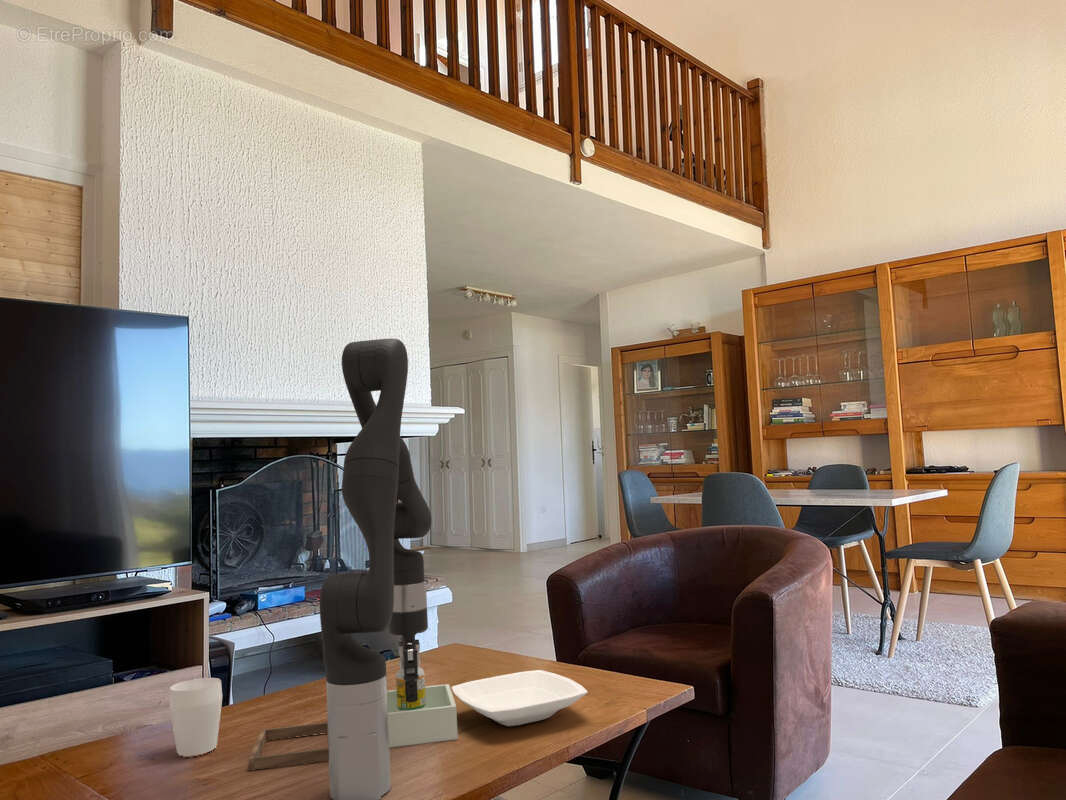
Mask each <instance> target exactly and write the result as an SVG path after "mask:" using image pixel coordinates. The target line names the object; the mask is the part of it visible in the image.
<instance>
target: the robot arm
mask: <svg viewBox="0 0 1066 800" xmlns="http://www.w3.org/2000/svg"><path fill="white" fill-rule="evenodd" d="M341 369H342V375H343V379H344V383H345V386H346V389H347V391H348V394H349V397H350V399H351V403H352V406H353V408H354V411H355V413H356V417H357V419H358V422H359V425H360V427H361V430H360V431H359V432H358V434H357V435H356V436H355V438H354V439H353V440H352V441H351V443H350V445H349V446H348V448H347V450H346V453H345V456H344V460H343V469H342V482H341V495H342V498H343V502H344V505H345V506H346V508H347V511H348V512H349V514H350V515H351V517H352V518H353V520H354V522H355V524H356V525H357V526H358V529H359V531H360V532H361V534H362V536H363V539H364V541H365V543H366V547H367V551H368V557H369V559H368V561H369V562H368V563H369V567H368V568H369V569H368V572H350V573H349V572H348V573H347V572H346V573H345V572H344V573H335V574H330V575H329V576H327V577H326V578H325V579H324V581H323V583H322V586H321V589H320V593H319V619H320V627H321V628H320V629H321V630H320V631H321V640H322V657H323V665H324V669H325V680H326V681H325V683H326V685H325V686H326V715H327V717H326V718H327V721H326V722H328V734H327V742H328V743H327V745H328V747H327V748H328V752H329V761H328V772H329V776H328V777H329V796H330V798H331V799H332V800H381V799H382V796H384V795H386V793H388V792H389V791H391V788H392V785H391V783H392V782H391V781H392V780H391V759H390V756H391V755H390V748H389V729H388V703H387V691H388V681H387V680H388V679H387V662H386V661H387V660H386V658H385V656H384V655H383V654H382V653H380V652H378V651H376V650H373V649H370V648H367V647H366V646H364V645H362V644H360V643H359V642H357V641H356V640H355V639H354V637H353V635H352V634H367V633H368V634H370V633H371V634H372V633H382V632H384V631H386V630H387V629H388V630H387V631H388V633H389V634H390V635H393V636H401V637H400V641H399V640H398V641H397V643H398V644H397V645H398V654H399V659H400V658H401V668H400V669H403V670H404V677H403V678H404V682H405V694H406V702H416V701H417V700H418V693H417V681H418V678H419V675H418V667H420V666H419V658H420V650H421V648H420V647H421V645H420V639H416V635H417V634H422V633H425V632H426V631H427V630H428V628H429V625H428V623H429V622H428V621H429V620H428V619H429V618H428V599H427V598H428V597H427V596H428V595H427V588H426V583H425V568H424V567H425V561H424V556H423V553H422V552H420V551H419V550H414V549H409V548H405V547H404V546H403V544H402V543H401V542H400V539H401V540H402V539H404V540H405V539H420V538H423V537H425V536H426V535H427V534H428V533H430V532H429V531H430V530H431V527H432V513H431V509H430V508H429V505H428V504H427V501H426V500H425V498H424V496H423V494H422V493H421V489H420V487H419V486H418V484H417V481H416V479H415V476H414V471H413V465H412V459H411V455H410V451H409V448H408V446H407V443H406V442H405V441H404V439H403V438H402V436H401V425H402V417H403V409H404V404H405V403H404V402H405V396H406V390H407V381H408V373H409V372H408V371H409V358H408V351H407V348H406V345H405V343H403V341H402V340H400V339H398V338H381V339H380V338H379V339H370V340H369V339H368V340H358V341H352V342H349V343H347V344H346V345H345V346H344V349H343V351H342V354H341ZM379 391H380V392H379ZM372 392H379V396H378V400H377V403H375V400H374V398H373V394H372ZM397 500H398V502H397ZM403 657H404V660H403ZM411 668H414V671H415V673H411V674H407V669H411Z"/></svg>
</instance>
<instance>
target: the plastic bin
mask: <svg viewBox="0 0 1066 800" xmlns="http://www.w3.org/2000/svg"><path fill="white" fill-rule="evenodd" d="M425 696H426V708H425V709H417V710H409V711H400V712H398V708H397V689H391V690H390V689H389V690H387V703H388V729H389V749H390V748H397V747H405V746H413V745H422V744H429V743H431V744H432V743H437V742H439V743H440V742H446V741H454V740H458V739H459V737H458V735H459V734H458V719H457V717H458V715H457V704H456V701H455V698H454V695H453V691H452V688H451V686H450V684H449V683H446V684H435V685H430V686H429V685H427V686H426V685H425Z"/></svg>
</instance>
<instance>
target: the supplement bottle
mask: <svg viewBox="0 0 1066 800" xmlns="http://www.w3.org/2000/svg"><path fill="white" fill-rule="evenodd" d="M403 660H404V657H403ZM398 666H399V669H398V670H397V672H396V673H395V682H396V690H397V708H398V712H400V711H409V710H417V709H425V708H426V696H425V687H426V681H425V677H426V676H425V671H424V669H423V668H422V667H420V666H421V657H419V667H418V675H419V678H418V681H417V693H418V700H417V701H416V702H406V694H405V682H404V678H403V677H404V670H403V669H401V658H400V657H399V658H398ZM411 673H415V671H414V668H411V669H407V674H411Z"/></svg>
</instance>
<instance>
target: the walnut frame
mask: <svg viewBox="0 0 1066 800" xmlns="http://www.w3.org/2000/svg"><path fill="white" fill-rule="evenodd" d="M320 733H328V721H324V722H315V723H306V724H305V723H304V724H299V725H290V726H281V727H272V728H263V729H261V731H260V733H259V736H258V738H257V740H256V742H255V745H254V747H253V749H252V750H251V753H250V755H249V758H248V771H249V770H252V769H253V771H255V770H254V769H261V770H264V769H263V768H269V769H276V768H275V767H277V768H284V767H291V766H290V765H293V766H299V765H298V764H301V765H307V764H306V763H309V764H316V763H315V762H317V763H323V762H324V761H325V762H329V752H328V747H323V748H321V747H319V748H314V749H304V750H298V751H297V750H296V751H290V752H289V751H287V752H283V753H282V752H281V753H273V754H272V753H271V754H263V755H262V753H261V751H262V752H263V750H264V748H263V747H265V746H266V743H267V741H266V740H273V739H280V738H281V740H283V739H282V738H288V737H296V736H303V735H313V734H320ZM273 741H274V740H273ZM265 742H266V743H265ZM264 745H265V746H264ZM262 749H263V750H262ZM260 754H261V755H260ZM304 763H305V764H304Z"/></svg>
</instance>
